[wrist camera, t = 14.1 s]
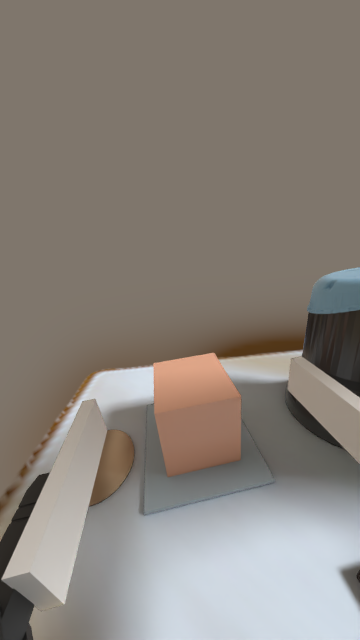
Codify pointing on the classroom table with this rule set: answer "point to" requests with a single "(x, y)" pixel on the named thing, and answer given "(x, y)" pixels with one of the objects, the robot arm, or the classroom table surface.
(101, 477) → the cork coaster
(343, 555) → the classroom table surface
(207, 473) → the felt mat
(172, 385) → the pink block
